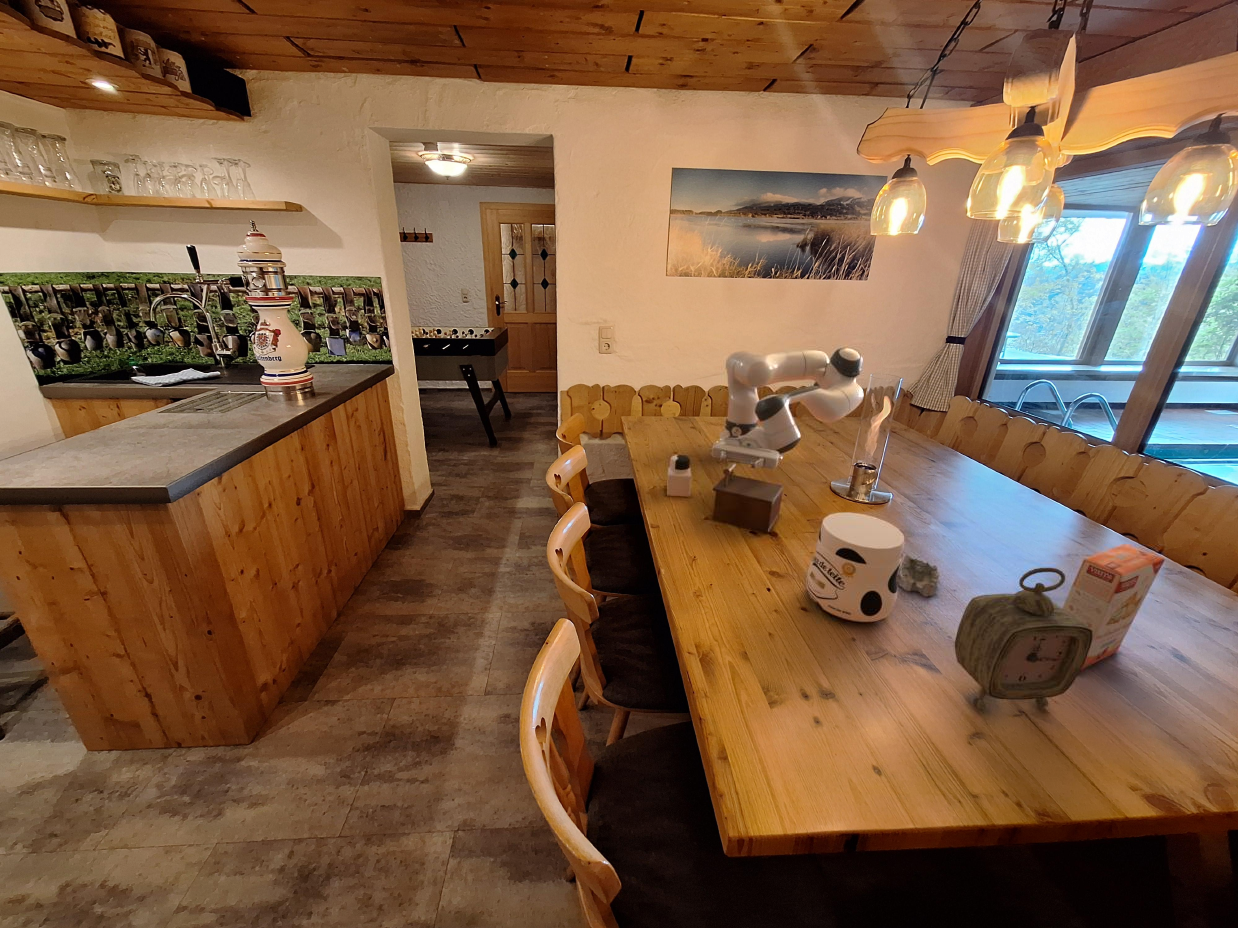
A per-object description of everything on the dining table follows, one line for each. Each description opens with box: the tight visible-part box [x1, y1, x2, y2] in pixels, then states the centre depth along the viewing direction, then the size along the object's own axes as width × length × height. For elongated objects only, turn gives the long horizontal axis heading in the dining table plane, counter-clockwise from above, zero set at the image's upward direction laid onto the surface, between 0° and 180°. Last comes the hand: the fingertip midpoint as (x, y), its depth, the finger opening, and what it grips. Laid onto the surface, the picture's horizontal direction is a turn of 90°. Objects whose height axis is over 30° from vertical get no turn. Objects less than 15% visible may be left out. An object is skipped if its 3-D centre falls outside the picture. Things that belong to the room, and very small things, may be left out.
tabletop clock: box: [954, 567, 1092, 710], centre depth 78 cm, size 14×9×25 cm, turn 93°
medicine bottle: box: [666, 454, 692, 498], centre depth 155 cm, size 7×7×12 cm
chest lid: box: [712, 461, 784, 504], centre depth 137 cm, size 16×13×6 cm
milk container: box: [805, 512, 905, 624], centre depth 101 cm, size 17×17×18 cm
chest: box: [712, 487, 784, 534], centre depth 139 cm, size 16×13×9 cm
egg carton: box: [898, 554, 940, 597], centre depth 111 cm, size 11×8×4 cm
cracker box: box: [1061, 543, 1166, 671], centre depth 88 cm, size 14×6×21 cm, turn 114°
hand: (737, 462), depth 144 cm, fingers open, 8 cm apart
